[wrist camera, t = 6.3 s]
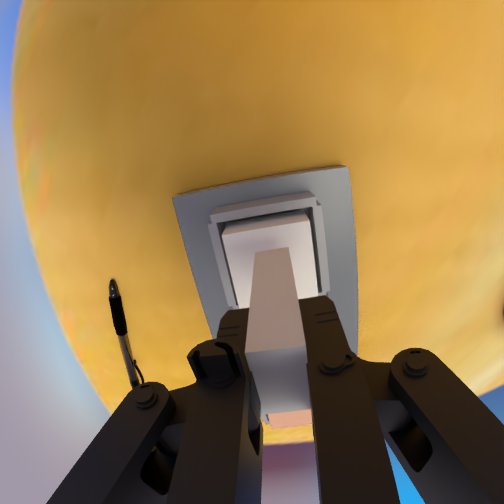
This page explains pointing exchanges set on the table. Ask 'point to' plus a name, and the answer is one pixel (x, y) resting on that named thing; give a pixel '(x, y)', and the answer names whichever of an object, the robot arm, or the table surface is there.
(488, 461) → the robot arm
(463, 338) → the table surface
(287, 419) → the key terracotta
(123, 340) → the pen
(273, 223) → the key ivory
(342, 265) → the keypad
